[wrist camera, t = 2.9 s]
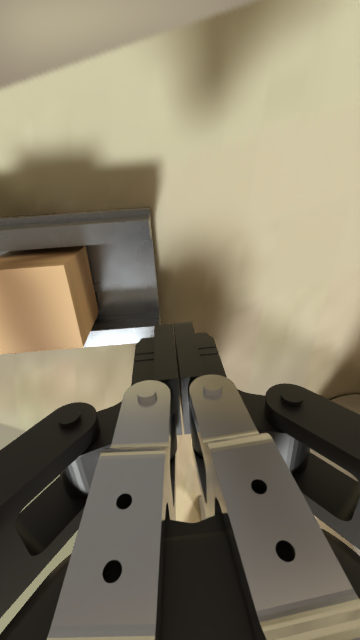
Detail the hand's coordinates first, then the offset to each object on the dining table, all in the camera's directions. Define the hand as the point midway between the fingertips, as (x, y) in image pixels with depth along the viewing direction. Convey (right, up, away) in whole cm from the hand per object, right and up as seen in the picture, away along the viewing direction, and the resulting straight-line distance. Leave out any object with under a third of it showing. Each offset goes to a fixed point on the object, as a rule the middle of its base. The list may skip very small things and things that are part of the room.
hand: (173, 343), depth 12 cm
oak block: (-8, +4, +9) cm, 13 cm away
